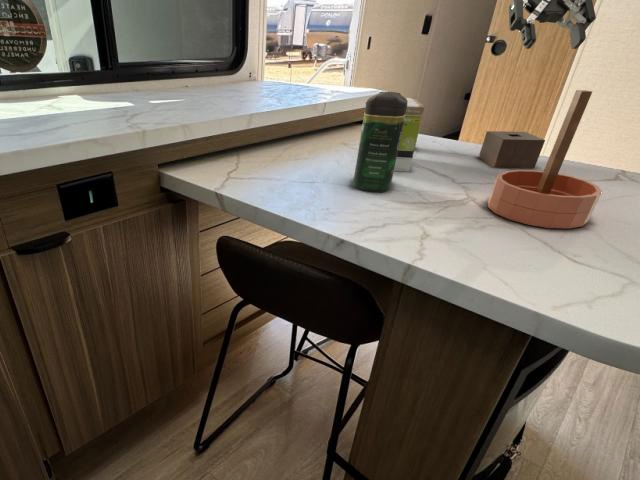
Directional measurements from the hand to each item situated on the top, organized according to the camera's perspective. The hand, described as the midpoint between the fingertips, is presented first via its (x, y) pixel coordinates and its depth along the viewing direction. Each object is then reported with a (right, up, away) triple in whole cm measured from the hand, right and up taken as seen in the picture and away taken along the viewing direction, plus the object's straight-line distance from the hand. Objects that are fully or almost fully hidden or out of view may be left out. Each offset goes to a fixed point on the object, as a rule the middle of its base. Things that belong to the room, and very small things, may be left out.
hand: (554, 45), depth 78 cm
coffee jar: (-31, -24, +12) cm, 41 cm away
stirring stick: (-5, -32, -2) cm, 32 cm away
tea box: (-22, -13, +28) cm, 38 cm away
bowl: (-5, -32, -1) cm, 33 cm away
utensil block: (+8, -14, +27) cm, 31 cm away
